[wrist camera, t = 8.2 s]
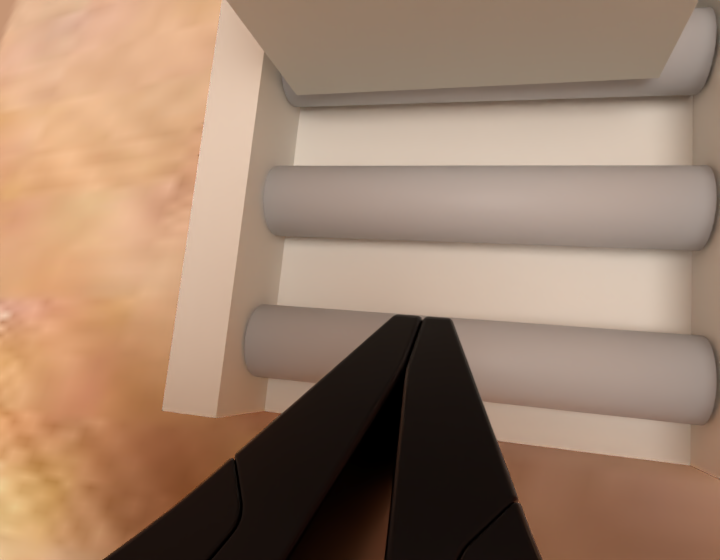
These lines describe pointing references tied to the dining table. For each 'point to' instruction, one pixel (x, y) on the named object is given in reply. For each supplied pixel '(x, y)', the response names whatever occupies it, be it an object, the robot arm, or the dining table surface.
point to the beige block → (461, 41)
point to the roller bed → (466, 245)
